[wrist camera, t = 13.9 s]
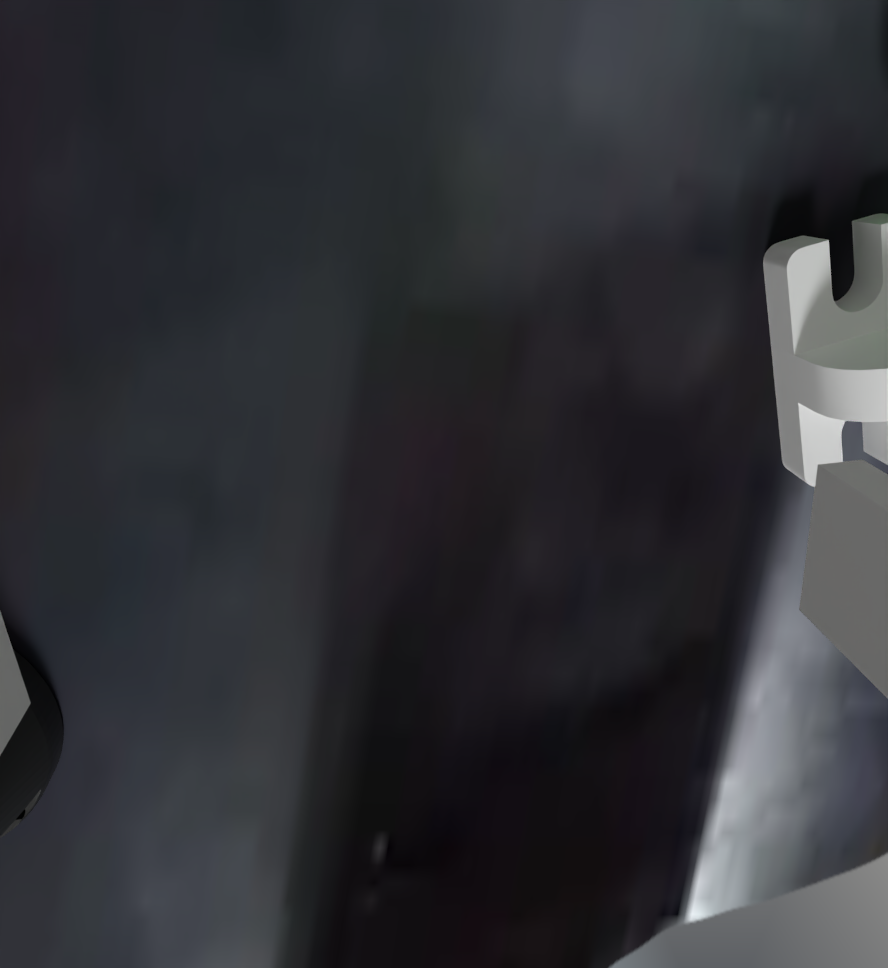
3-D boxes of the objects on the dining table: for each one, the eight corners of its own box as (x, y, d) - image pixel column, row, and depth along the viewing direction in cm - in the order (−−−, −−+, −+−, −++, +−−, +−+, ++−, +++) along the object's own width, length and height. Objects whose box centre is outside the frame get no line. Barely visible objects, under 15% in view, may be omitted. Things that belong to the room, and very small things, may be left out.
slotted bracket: (898, 439, 45) (1000, 492, 38) (781, 473, 45) (862, 532, 38) (890, 208, 40) (1006, 220, 33) (759, 246, 40) (847, 266, 33)
